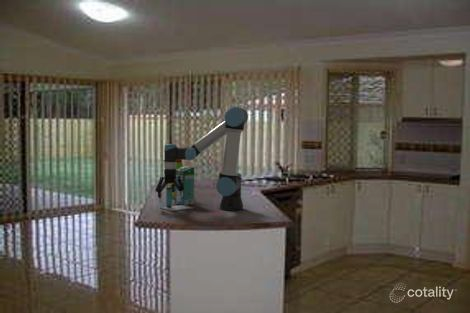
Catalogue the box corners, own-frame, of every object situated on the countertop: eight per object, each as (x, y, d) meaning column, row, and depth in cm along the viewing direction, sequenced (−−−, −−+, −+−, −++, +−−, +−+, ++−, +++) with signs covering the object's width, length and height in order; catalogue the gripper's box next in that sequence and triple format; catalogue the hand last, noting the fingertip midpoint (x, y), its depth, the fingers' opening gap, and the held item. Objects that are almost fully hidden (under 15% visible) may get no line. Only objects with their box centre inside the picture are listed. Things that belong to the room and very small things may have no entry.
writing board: (183, 205, 332) (183, 204, 332) (195, 208, 322) (195, 207, 322) (159, 208, 320) (159, 207, 320) (171, 211, 310) (171, 210, 310)
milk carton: (174, 203, 339) (175, 166, 337) (184, 202, 346) (185, 165, 344) (183, 205, 333) (184, 167, 331) (193, 204, 340) (194, 166, 338)
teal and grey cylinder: (169, 206, 323) (169, 186, 323) (173, 207, 321) (173, 187, 320) (164, 207, 321) (165, 187, 320) (168, 207, 318) (168, 187, 317)
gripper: (183, 167, 330) (182, 199, 331) (149, 168, 313) (149, 202, 315) (189, 168, 324) (189, 201, 326) (156, 169, 308) (155, 204, 309)
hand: (169, 202), depth 320 cm, fingers open, 13 cm apart
